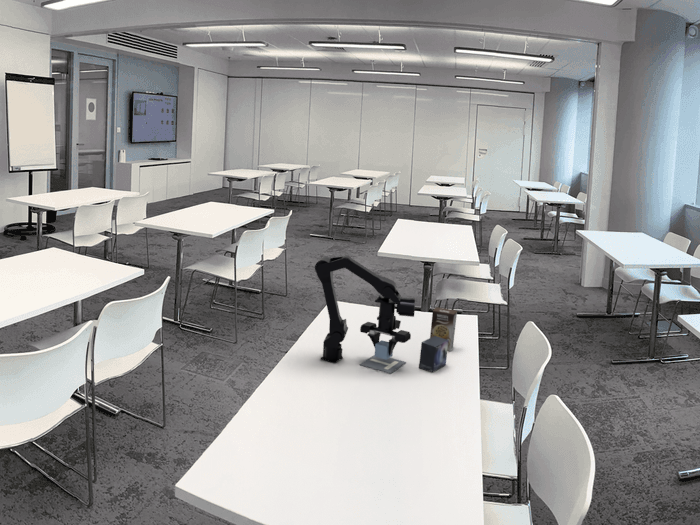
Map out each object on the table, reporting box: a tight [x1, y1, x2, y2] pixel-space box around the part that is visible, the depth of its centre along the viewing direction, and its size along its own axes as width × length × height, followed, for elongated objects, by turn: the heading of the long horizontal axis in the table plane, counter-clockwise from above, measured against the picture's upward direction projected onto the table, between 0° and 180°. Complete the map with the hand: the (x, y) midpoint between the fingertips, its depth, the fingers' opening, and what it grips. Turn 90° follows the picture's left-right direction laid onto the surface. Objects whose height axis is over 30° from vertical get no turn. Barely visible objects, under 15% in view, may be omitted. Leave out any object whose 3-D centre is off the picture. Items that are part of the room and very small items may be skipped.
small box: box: [418, 336, 449, 373], centre depth 220 cm, size 11×6×10 cm, turn 143°
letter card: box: [359, 354, 407, 375], centre depth 220 cm, size 13×13×1 cm
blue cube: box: [374, 339, 394, 360], centre depth 219 cm, size 5×5×5 cm
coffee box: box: [429, 306, 458, 352], centre depth 240 cm, size 9×6×16 cm
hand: (383, 353), depth 219 cm, fingers closed on blue cube, 5 cm apart
